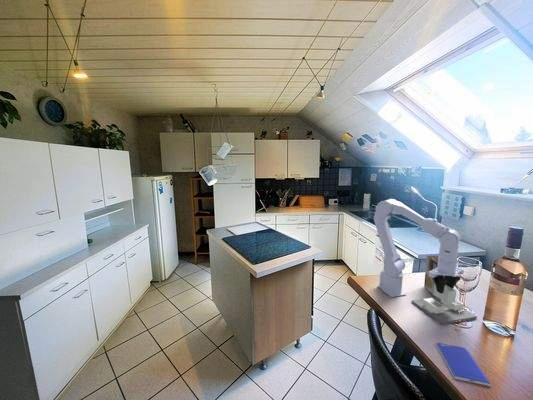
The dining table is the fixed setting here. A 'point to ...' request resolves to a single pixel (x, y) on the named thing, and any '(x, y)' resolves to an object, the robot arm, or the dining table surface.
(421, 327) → the dining table surface
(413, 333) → the dining table surface
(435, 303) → the board
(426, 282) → the coffee box
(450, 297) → the block
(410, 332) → the dining table surface
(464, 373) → the hard drive
